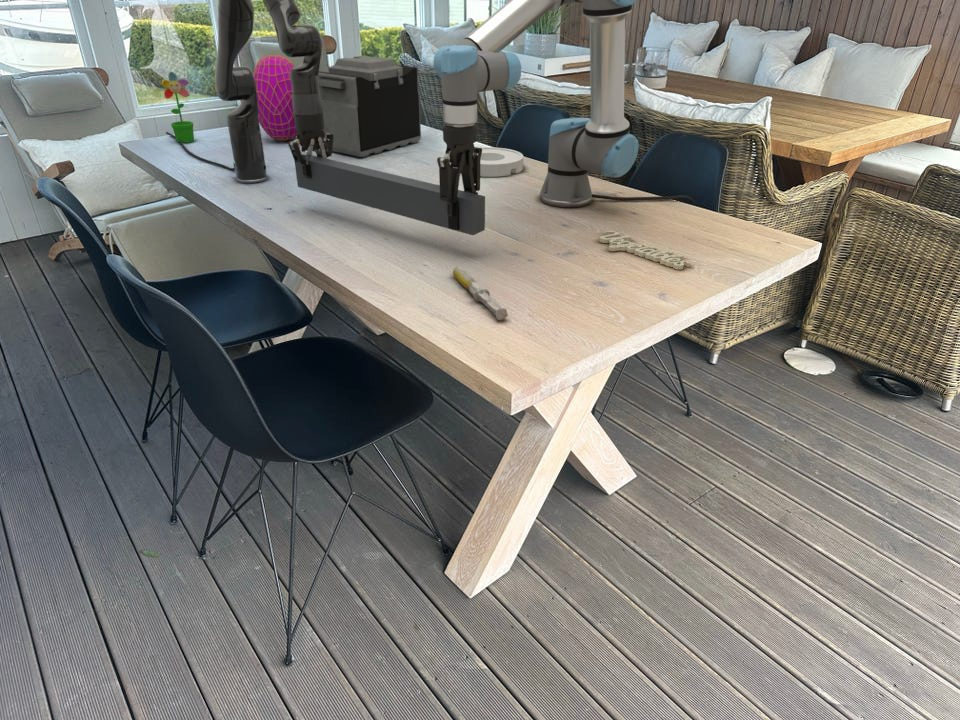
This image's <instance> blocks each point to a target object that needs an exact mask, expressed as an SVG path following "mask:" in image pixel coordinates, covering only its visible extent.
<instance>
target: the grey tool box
mask: <svg viewBox="0 0 960 720" xmlns="http://www.w3.org/2000/svg"><path fill="white" fill-rule="evenodd" d="M318 78H319V87H320V95H321V99H322V107H323V117H324V126H325V127H324V129H323V131H324V133H329V134H333V136H334V137H333V147H332V152H335V153H340V154H344V155H348V156H353V157H357V158H362V159H363V158H366V157H367V158H368V157H369V155H371V154H375V155H377V154H381V153H382V152H383V151H391V150H395V149H396V148H397V147H405V146H407V145H408V144H416V143H418V142H419V141H421V137H422V128H421V97H420V92H419V91H420V89H419V68H418V67H417V66H408V65H400V64H396V62H395V60H394V59H393V58H385V57H377V56H367V55H356V56H353V57H350V58H349V57H343V58H342V57H341V58H337V59H336V60H335V63H334V64H333V65H330V66H329V67H328V72H327V71H320V70H319V74H318ZM323 142H324V140H323ZM327 151H328V147H327Z"/></svg>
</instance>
